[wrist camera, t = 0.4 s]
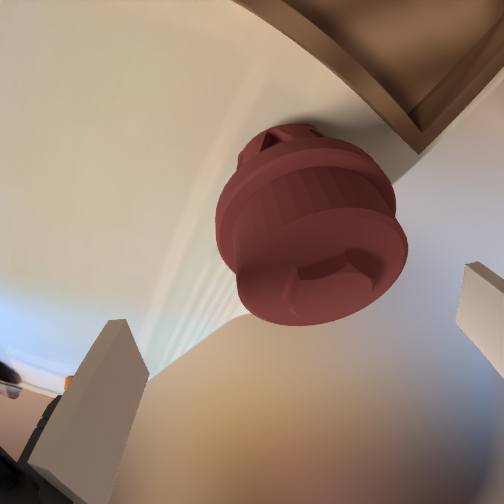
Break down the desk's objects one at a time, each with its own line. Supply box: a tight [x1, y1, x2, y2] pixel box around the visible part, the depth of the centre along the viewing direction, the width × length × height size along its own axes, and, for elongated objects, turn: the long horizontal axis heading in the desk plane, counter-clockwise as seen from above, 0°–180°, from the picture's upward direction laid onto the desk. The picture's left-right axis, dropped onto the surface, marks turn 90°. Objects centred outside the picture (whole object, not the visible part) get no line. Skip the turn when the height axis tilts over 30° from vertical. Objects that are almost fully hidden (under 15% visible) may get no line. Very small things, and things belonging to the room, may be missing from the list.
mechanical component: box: [215, 124, 408, 326], centre depth 17 cm, size 12×10×10 cm
